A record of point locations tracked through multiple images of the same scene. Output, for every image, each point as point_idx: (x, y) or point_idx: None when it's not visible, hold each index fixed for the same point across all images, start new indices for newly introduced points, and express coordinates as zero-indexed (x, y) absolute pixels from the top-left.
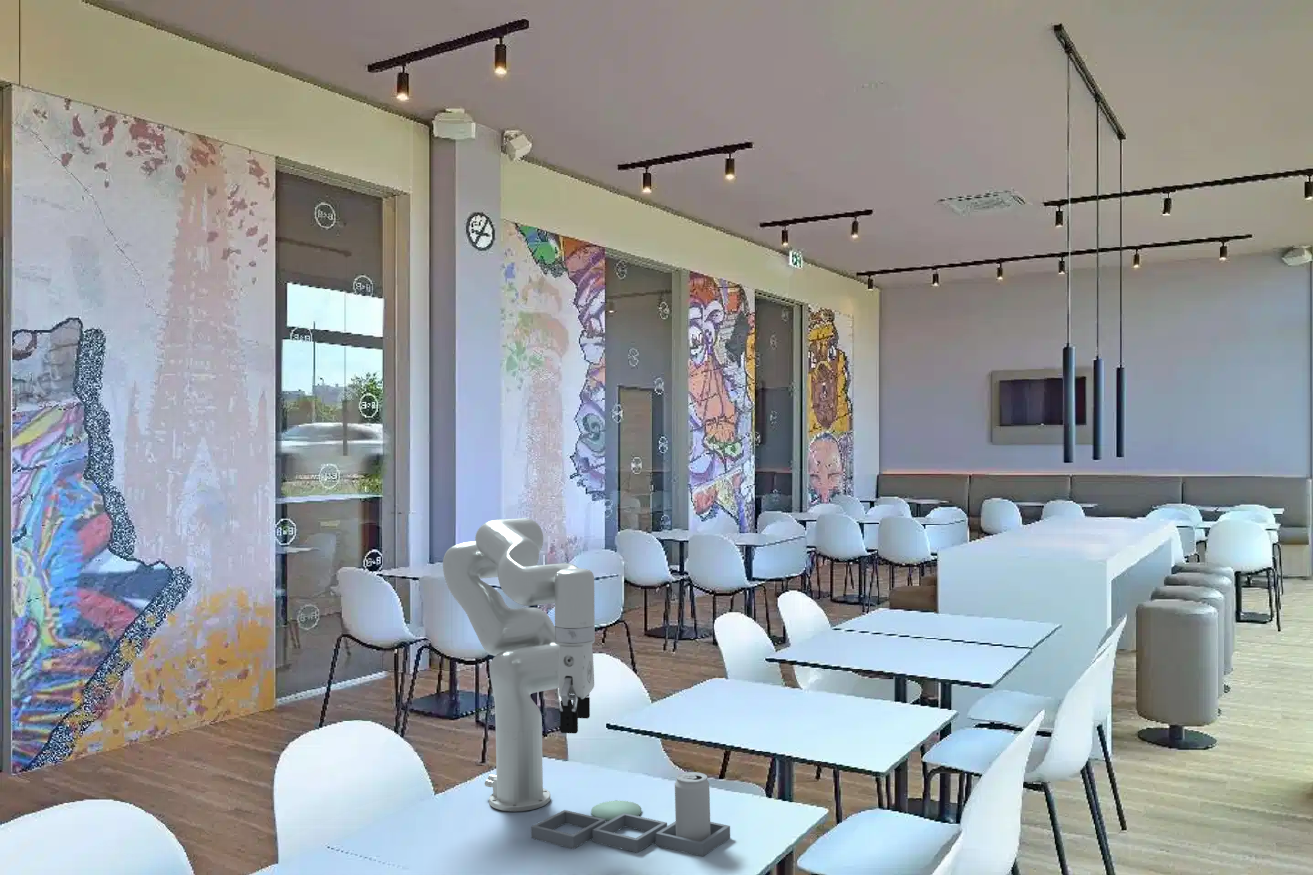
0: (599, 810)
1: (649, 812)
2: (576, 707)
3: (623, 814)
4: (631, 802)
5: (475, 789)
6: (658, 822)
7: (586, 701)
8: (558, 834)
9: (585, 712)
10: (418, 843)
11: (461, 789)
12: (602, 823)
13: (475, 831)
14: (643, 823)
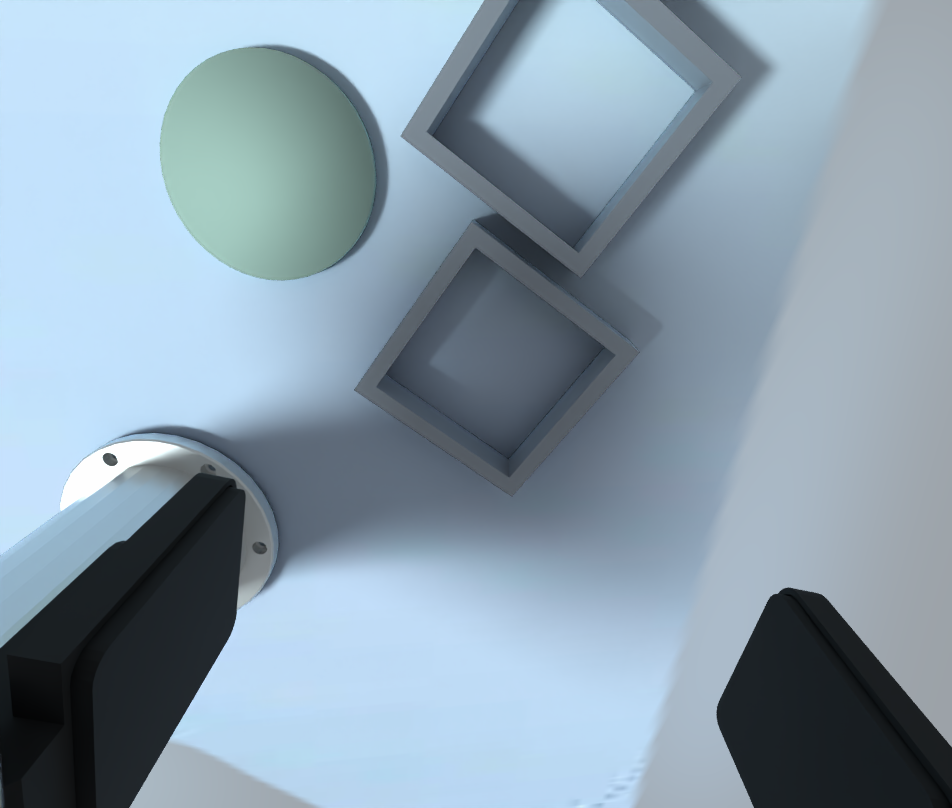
0: (280, 246)
1: (267, 8)
2: (178, 692)
3: (419, 137)
4: (177, 96)
5: None
6: None
7: (124, 650)
8: (592, 403)
9: (215, 551)
10: (508, 739)
11: None
12: (490, 235)
13: (436, 626)
14: (488, 39)
